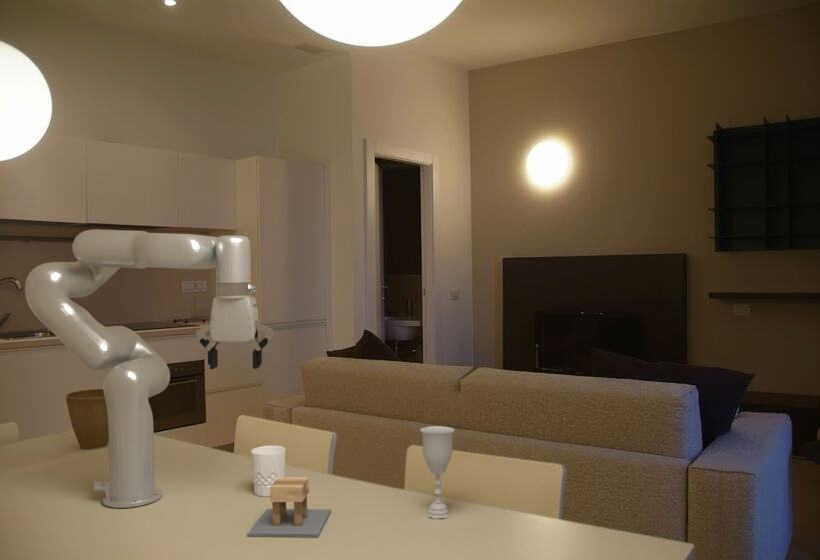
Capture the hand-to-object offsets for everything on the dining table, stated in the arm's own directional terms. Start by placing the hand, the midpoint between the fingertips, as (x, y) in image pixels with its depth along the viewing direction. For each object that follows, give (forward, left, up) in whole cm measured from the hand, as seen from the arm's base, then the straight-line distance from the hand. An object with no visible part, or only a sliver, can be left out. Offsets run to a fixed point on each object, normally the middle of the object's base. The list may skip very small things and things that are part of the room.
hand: (235, 368), depth 156 cm
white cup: (+5, +8, -31) cm, 32 cm away
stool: (+15, -12, -30) cm, 35 cm away
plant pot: (-59, +49, -31) cm, 83 cm away
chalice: (+45, -6, -31) cm, 55 cm away
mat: (+15, -12, -30) cm, 36 cm away
